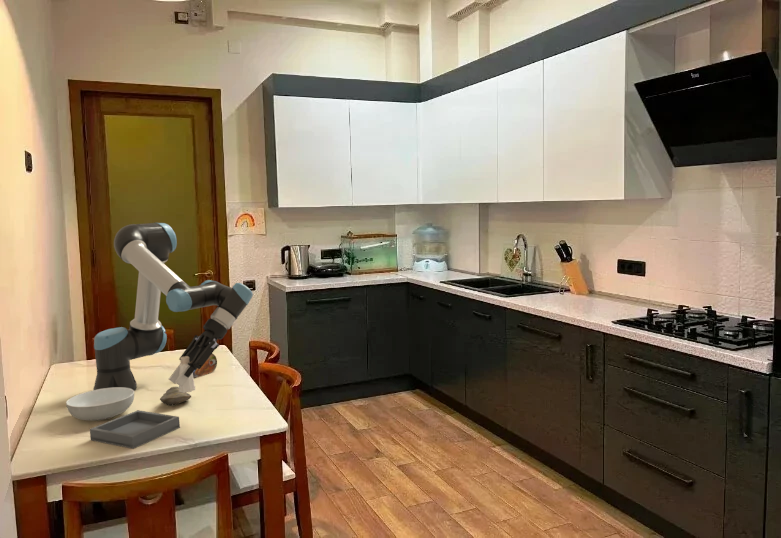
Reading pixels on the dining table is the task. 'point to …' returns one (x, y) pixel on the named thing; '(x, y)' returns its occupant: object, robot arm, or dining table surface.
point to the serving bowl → (100, 403)
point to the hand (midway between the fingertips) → (175, 382)
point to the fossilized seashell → (174, 396)
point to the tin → (206, 367)
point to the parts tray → (134, 429)
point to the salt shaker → (189, 383)
